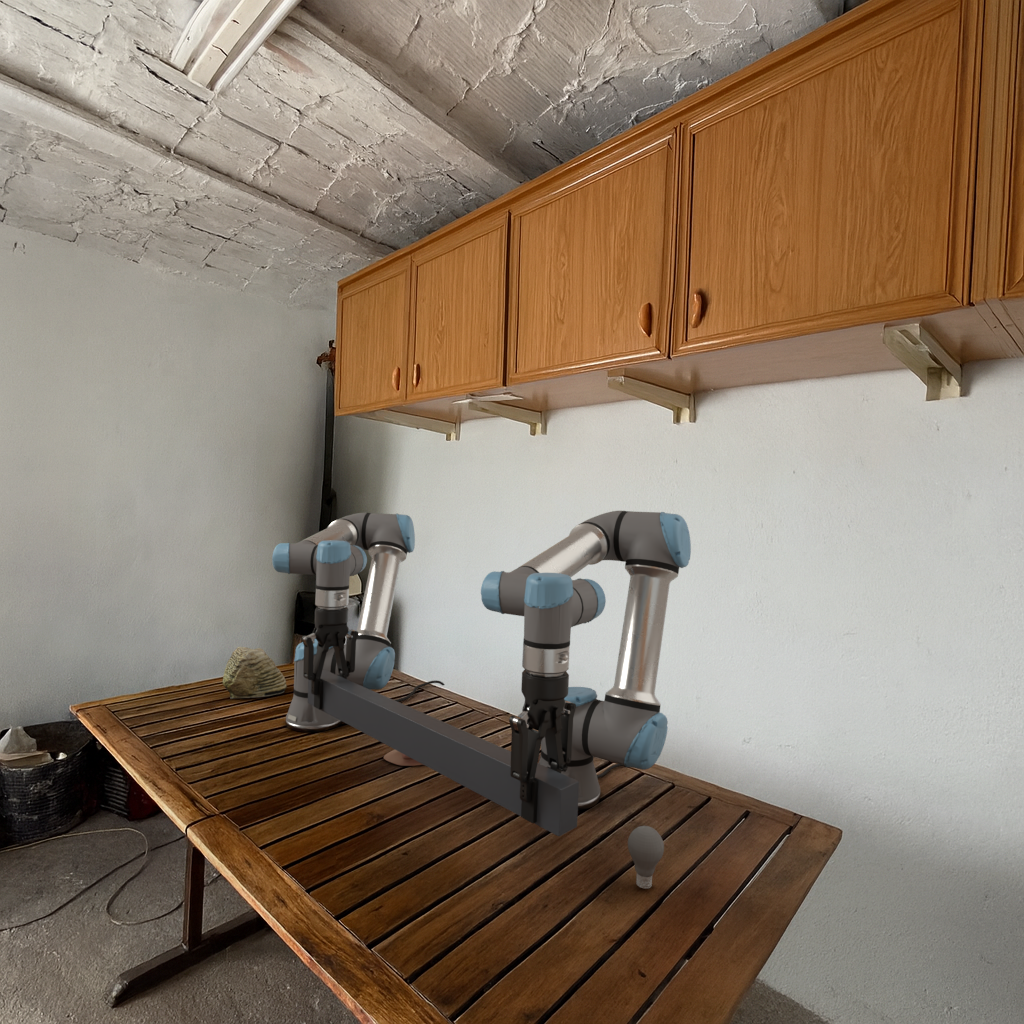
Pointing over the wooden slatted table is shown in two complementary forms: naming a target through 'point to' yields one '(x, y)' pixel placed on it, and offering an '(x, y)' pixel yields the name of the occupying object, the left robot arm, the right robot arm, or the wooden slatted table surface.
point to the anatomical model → (400, 759)
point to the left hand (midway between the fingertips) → (328, 705)
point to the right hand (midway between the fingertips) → (539, 813)
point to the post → (449, 751)
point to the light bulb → (645, 853)
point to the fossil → (252, 674)
